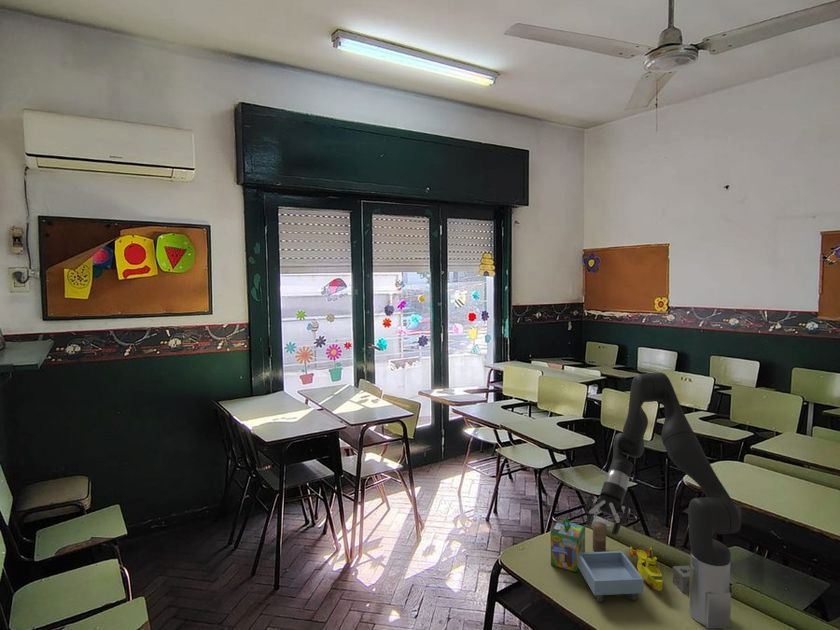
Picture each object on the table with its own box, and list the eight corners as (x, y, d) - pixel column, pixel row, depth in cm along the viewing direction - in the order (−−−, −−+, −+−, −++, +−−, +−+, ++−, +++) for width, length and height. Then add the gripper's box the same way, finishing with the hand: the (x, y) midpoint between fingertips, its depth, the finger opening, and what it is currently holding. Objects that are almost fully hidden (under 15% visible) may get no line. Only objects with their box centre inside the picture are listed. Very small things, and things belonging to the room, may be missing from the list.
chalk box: (578, 574, 155) (579, 528, 153) (549, 565, 160) (549, 521, 158) (586, 559, 163) (586, 515, 161) (558, 551, 168) (558, 509, 166)
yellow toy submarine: (649, 562, 160) (649, 532, 160) (671, 599, 143) (672, 566, 142) (628, 561, 161) (628, 532, 160) (648, 598, 143) (649, 565, 142)
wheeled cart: (643, 603, 141) (643, 579, 140) (594, 605, 140) (594, 581, 140) (621, 573, 155) (622, 550, 154) (577, 575, 154) (577, 552, 154)
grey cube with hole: (672, 582, 150) (672, 566, 150) (688, 580, 150) (688, 565, 150) (682, 593, 145) (682, 576, 145) (698, 591, 146) (699, 575, 145)
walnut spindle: (607, 553, 165) (608, 527, 165) (595, 554, 165) (595, 528, 164) (602, 546, 170) (603, 521, 169) (590, 546, 170) (590, 521, 169)
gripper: (592, 475, 178) (577, 518, 170) (633, 487, 168) (619, 533, 161) (598, 485, 182) (584, 527, 175) (638, 497, 172) (625, 542, 165)
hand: (600, 530), depth 168 cm, fingers open, 8 cm apart
